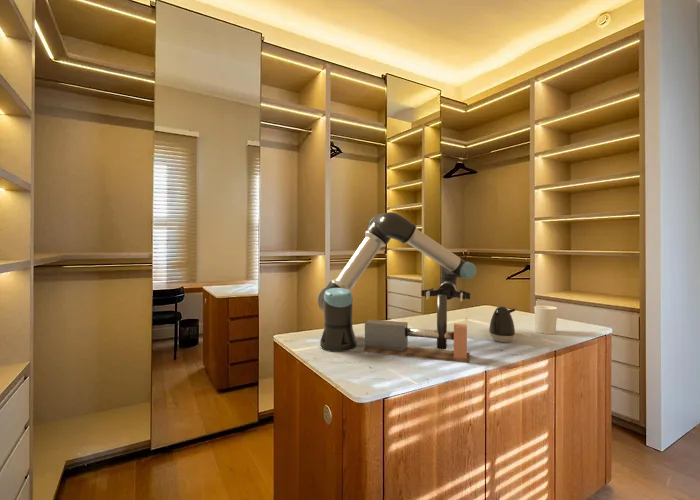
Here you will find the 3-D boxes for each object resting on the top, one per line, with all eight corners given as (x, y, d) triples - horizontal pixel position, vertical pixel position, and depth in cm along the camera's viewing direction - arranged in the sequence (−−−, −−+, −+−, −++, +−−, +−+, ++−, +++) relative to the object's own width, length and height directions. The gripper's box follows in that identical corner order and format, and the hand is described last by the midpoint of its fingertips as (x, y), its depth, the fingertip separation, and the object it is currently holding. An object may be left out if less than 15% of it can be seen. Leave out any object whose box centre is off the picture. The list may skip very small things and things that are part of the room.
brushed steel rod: (396, 345, 136) (396, 294, 135) (398, 342, 139) (398, 292, 139) (460, 351, 128) (461, 297, 128) (461, 348, 131) (461, 295, 131)
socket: (453, 357, 127) (453, 327, 127) (454, 351, 134) (454, 323, 134) (466, 358, 126) (466, 328, 126) (466, 352, 132) (466, 324, 132)
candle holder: (529, 329, 171) (529, 305, 171) (548, 329, 172) (548, 305, 172) (542, 335, 161) (542, 309, 161) (562, 334, 163) (562, 308, 162)
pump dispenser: (518, 345, 146) (518, 308, 146) (491, 343, 148) (492, 308, 148) (511, 338, 156) (512, 304, 156) (487, 337, 158) (487, 303, 158)
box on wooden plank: (364, 348, 139) (364, 322, 138) (369, 343, 145) (369, 319, 144) (404, 352, 133) (404, 325, 133) (407, 347, 139) (407, 322, 139)
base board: (363, 351, 137) (363, 349, 137) (369, 345, 146) (369, 342, 146) (469, 362, 125) (469, 359, 125) (469, 354, 133) (469, 352, 133)
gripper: (475, 300, 158) (476, 308, 138) (420, 297, 167) (413, 304, 147) (475, 284, 158) (476, 289, 138) (420, 281, 166) (413, 286, 146)
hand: (443, 297), depth 142 cm, fingers open, 13 cm apart
